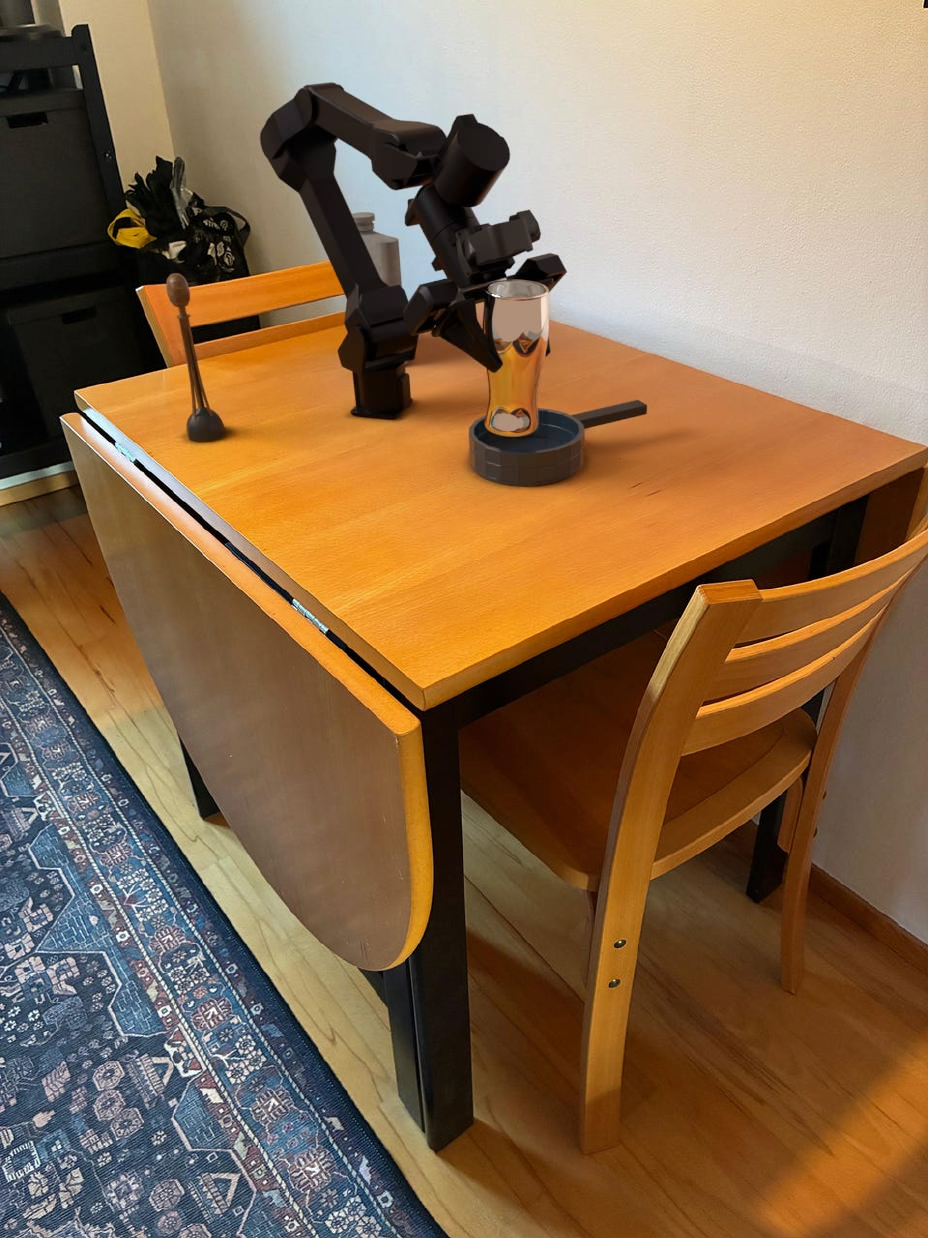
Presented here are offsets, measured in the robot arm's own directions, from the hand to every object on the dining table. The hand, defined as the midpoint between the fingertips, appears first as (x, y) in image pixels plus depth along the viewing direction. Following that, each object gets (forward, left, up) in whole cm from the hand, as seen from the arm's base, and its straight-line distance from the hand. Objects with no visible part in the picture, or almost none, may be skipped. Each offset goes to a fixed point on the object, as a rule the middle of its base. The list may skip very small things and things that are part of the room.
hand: (522, 362), depth 102 cm
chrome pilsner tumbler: (-1, +1, -8) cm, 8 cm away
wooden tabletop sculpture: (-43, +2, -14) cm, 45 cm away
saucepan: (-1, +4, -13) cm, 14 cm away
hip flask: (-34, +36, -14) cm, 51 cm away
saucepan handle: (+7, +12, -11) cm, 18 cm away
